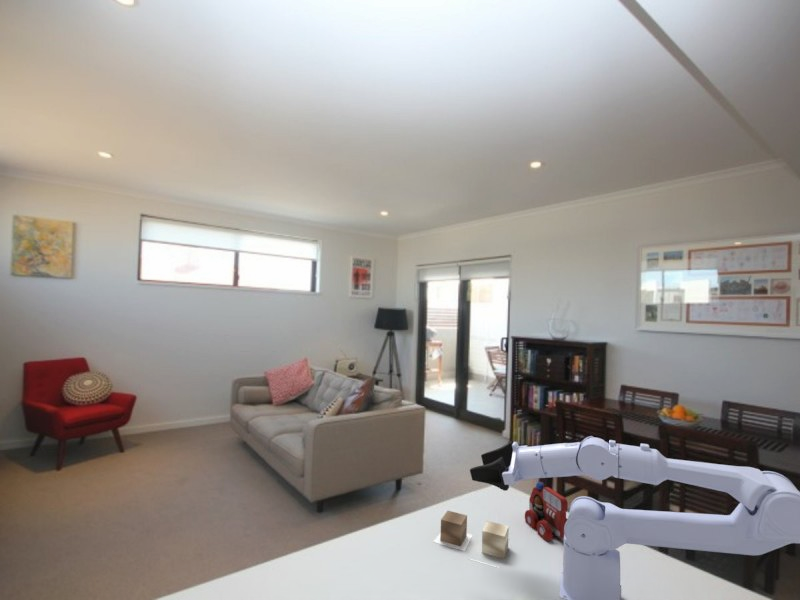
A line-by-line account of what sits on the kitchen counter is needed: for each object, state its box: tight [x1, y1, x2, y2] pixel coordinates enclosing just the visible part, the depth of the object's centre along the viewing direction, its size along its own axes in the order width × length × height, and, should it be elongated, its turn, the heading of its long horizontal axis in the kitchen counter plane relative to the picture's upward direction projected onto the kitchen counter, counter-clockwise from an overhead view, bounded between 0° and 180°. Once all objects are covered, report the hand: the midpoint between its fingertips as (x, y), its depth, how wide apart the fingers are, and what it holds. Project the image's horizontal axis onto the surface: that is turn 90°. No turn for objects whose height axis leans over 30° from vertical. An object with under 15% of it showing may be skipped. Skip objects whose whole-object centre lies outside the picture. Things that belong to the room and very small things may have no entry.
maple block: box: [481, 520, 510, 560], centre depth 86 cm, size 4×4×4 cm
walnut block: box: [440, 510, 468, 546], centre depth 90 cm, size 4×4×4 cm
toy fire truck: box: [524, 481, 569, 542], centre depth 95 cm, size 7×12×10 cm, turn 15°
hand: (477, 466), depth 85 cm, fingers open, 7 cm apart
